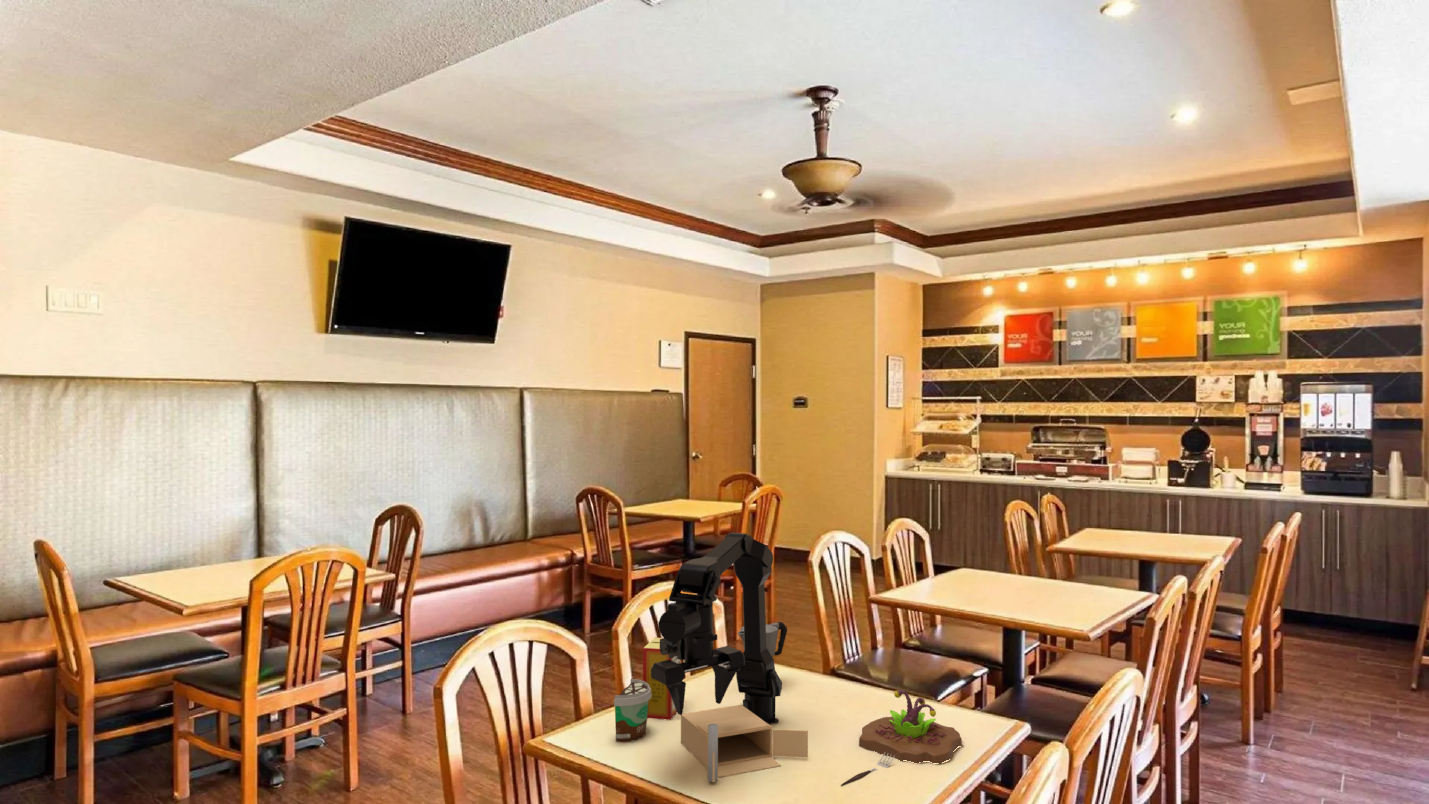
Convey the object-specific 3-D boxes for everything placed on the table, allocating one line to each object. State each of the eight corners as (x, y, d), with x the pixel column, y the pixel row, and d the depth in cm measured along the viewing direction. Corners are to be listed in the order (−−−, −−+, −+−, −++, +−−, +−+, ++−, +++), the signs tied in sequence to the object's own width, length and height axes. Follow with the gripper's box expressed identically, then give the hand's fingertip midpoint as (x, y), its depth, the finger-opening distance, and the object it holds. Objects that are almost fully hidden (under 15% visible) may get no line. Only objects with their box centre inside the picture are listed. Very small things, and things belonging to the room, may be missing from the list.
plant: (882, 721, 189) (882, 671, 190) (969, 739, 179) (969, 686, 179) (846, 751, 172) (846, 695, 173) (941, 772, 162) (941, 714, 162)
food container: (642, 747, 173) (642, 698, 173) (613, 744, 174) (613, 696, 175) (658, 725, 185) (658, 679, 185) (631, 723, 186) (631, 677, 187)
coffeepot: (750, 698, 203) (750, 623, 203) (727, 688, 211) (727, 616, 211) (798, 687, 212) (798, 615, 212) (774, 677, 219) (774, 608, 220)
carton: (766, 728, 184) (766, 699, 184) (810, 760, 166) (810, 728, 167) (680, 742, 175) (681, 712, 175) (717, 778, 158) (717, 744, 158)
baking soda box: (670, 720, 189) (671, 648, 189) (642, 717, 190) (643, 646, 190) (681, 705, 198) (681, 637, 198) (655, 703, 199) (655, 635, 200)
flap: (718, 781, 155) (718, 727, 156) (708, 782, 155) (708, 727, 155) (713, 766, 162) (713, 714, 162) (704, 767, 162) (704, 714, 162)
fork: (835, 786, 156) (835, 775, 156) (884, 761, 167) (884, 751, 167) (846, 790, 154) (846, 779, 154) (895, 765, 165) (895, 755, 165)
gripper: (712, 612, 175) (712, 687, 175) (635, 627, 164) (636, 707, 164) (745, 623, 166) (746, 702, 166) (667, 640, 155) (668, 725, 155)
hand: (699, 708), depth 163 cm, fingers open, 9 cm apart
